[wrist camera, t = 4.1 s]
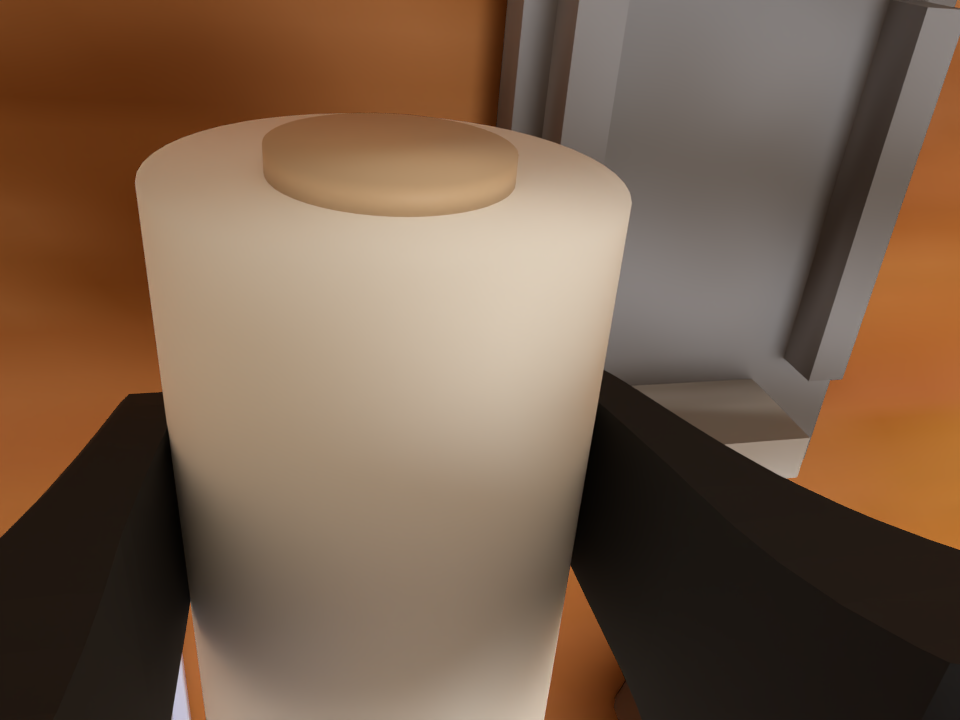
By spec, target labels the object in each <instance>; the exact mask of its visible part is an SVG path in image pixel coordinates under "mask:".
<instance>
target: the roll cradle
mask: <svg viewBox="0 0 960 720" xmlns="http://www.w3.org/2000/svg"><path fill="white" fill-rule="evenodd" d="M956 1H957V0H508V2H507V13H506V24H505V35H504V46H503V57H502V68H501V79H500V90H499V101H498V112H497V123H496V127H498V128H502V129H507V130H512V131H516V132H520V133H524V134H527V135H531V136H535V137H538V138H542V139H545V140H548V141H551V142H554V143H557V144H560V145H562V146H565V147H568V148H571V149H573V150H575V151H578V152H580V153H582V154H584V155H586V156H589V157H590V158H592V159H594V160H596V161H597V162H599V163H601V164H603V165H604V166H606V167H607V168H608V169H610V170H611V171H612V172H614V173H615V174H616V175H617V176H618V177H619V178H620V179H621V180H622V181H623V182H624V183H625V185H626V187H627V188H628V190H629V192H630V195H631V201H632V205H631V211H630V217H629V223H628V229H627V235H626V240H625V246H624V252H623V258H622V264H621V270H620V276H619V282H618V288H617V293H616V299H615V305H614V311H613V317H612V323H611V329H610V335H609V340H608V346H607V352H606V358H605V364H604V370H605V371H607V372H609V373H611V374H612V375H614V376H616V377H618V378H619V379H621V380H623V381H624V382H626V383H627V384H629V385H631V386H632V387H634V388H635V389H637V390H639V391H640V392H642V393H643V394H645V395H646V396H648V397H649V398H651V399H653V400H654V401H656V402H657V403H659V404H660V405H662V406H663V407H665V408H667V409H668V410H670V411H671V412H673V413H674V414H676V415H677V416H679V417H681V418H682V419H684V420H685V421H687V422H688V423H690V424H692V425H693V426H695V427H696V428H698V429H700V430H701V431H703V432H705V433H706V434H708V435H709V436H711V437H713V438H714V439H716V440H718V441H719V442H721V443H723V444H724V445H726V446H728V447H730V448H731V449H733V450H735V451H736V452H738V453H740V454H742V455H743V456H745V457H747V458H749V459H751V460H753V461H754V462H756V463H758V464H760V465H762V466H763V467H765V468H767V469H769V470H771V471H772V472H774V473H776V474H778V475H780V476H782V477H784V478H794V477H797V476H798V473H799V470H800V467H801V464H802V461H803V459H804V457H805V454H806V451H807V448H808V445H809V442H810V439H811V436H812V433H813V430H814V427H815V424H816V421H817V418H818V415H819V412H820V409H821V406H822V403H823V400H824V397H825V394H826V391H827V388H828V385H829V382H830V380H839V379H842V378H843V375H844V372H845V370H846V367H847V364H848V361H849V358H850V355H851V352H852V349H853V346H854V343H855V340H856V337H857V334H858V331H859V329H860V326H861V323H862V320H863V317H864V314H865V311H866V308H867V305H868V302H869V299H870V296H871V293H872V290H873V287H874V285H875V282H876V279H877V276H878V273H879V270H880V267H881V264H882V261H883V258H884V255H885V252H886V249H887V246H888V244H889V241H890V238H891V235H892V232H893V229H894V226H895V223H896V220H897V217H898V214H899V211H900V208H901V205H902V203H903V200H904V197H905V194H906V191H907V188H908V185H909V182H910V179H911V176H912V173H913V170H914V167H915V164H916V162H917V159H918V156H919V153H920V150H921V147H922V144H923V141H924V138H925V135H926V132H927V129H928V126H929V123H930V120H931V118H932V115H933V112H934V109H935V106H936V103H937V100H938V97H939V94H940V91H941V88H942V85H943V82H944V79H945V77H946V74H947V71H948V68H949V65H950V62H951V59H952V56H953V53H954V50H955V47H956V44H957V41H958V38H959V36H960V8H955V4H956Z"/></svg>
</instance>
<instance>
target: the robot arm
mask: <svg viewBox="0 0 960 720" xmlns="http://www.w3.org/2000/svg"><path fill="white" fill-rule="evenodd" d="M570 565H571V567H572V569H573V571H574V573H575V576H576V578H577V580H578V582H579V584H580V586H581V588H582V590H583V592H584V594H585V596H586V599H587V601H588V603H589V605H590V607H591V609H592V611H593V613H594V615H595V617H596V619H597V621H598V623H599V625H600V627H601V629H602V632H603V634H604V636H605V638H606V640H607V642H608V644H609V646H610V648H611V650H612V652H613V654H614V656H615V658H616V660H617V662H618V665H619V667H620V669H621V671H622V673H623V675H624V677H625V680H626V682H627V684H628V687H629V689H630V691H631V694H632V696H633V698H634V701H635V703H636V705H637V708H638V711H639V714H640V716H641V719H642V720H960V550H958V549H955V548H952V547H949V546H946V545H943V544H940V543H937V542H934V541H931V540H929V539H926V538H923V537H920V536H918V535H915V534H913V533H910V532H907V531H905V530H902V529H899V528H897V527H894V526H892V525H889V524H886V523H884V522H881V521H878V520H876V519H873V518H871V517H869V516H866V515H864V514H861V513H859V512H857V511H854V510H852V509H849V508H847V507H845V506H843V505H840V504H838V503H836V502H834V501H832V500H830V499H828V498H825V497H823V496H821V495H819V494H817V493H815V492H813V491H810V490H808V489H806V488H804V487H802V486H800V485H798V484H796V483H794V482H792V481H790V480H788V479H786V478H784V477H782V476H780V475H778V474H776V473H774V472H772V471H771V470H769V469H767V468H765V467H763V466H762V465H760V464H758V463H756V462H754V461H753V460H751V459H749V458H747V457H745V456H743V455H742V454H740V453H738V452H736V451H735V450H733V449H731V448H730V447H728V446H726V445H724V444H723V443H721V442H719V441H718V440H716V439H714V438H713V437H711V436H709V435H708V434H706V433H705V432H703V431H701V430H700V429H698V428H696V427H695V426H693V425H692V424H690V423H688V422H687V421H685V420H684V419H682V418H681V417H679V416H677V415H676V414H674V413H673V412H671V411H670V410H668V409H667V408H665V407H663V406H662V405H660V404H659V403H657V402H656V401H654V400H653V399H651V398H649V397H648V396H646V395H645V394H643V393H642V392H640V391H639V390H637V389H635V388H634V387H632V386H631V385H629V384H627V383H626V382H624V381H623V380H621V379H619V378H618V377H616V376H614V375H612V374H611V373H609V372H607V371H605V370H603V376H602V382H601V388H600V393H599V399H598V405H597V411H596V417H595V423H594V429H593V435H592V440H591V446H590V452H589V458H588V464H587V470H586V476H585V482H584V488H583V493H582V499H581V505H580V511H579V517H578V523H577V529H576V535H575V541H574V546H573V552H572V558H571V564H570ZM189 606H190V592H189V585H188V577H187V570H186V562H185V554H184V547H183V539H182V532H181V524H180V517H179V509H178V502H177V494H176V487H175V479H174V471H173V464H172V456H171V449H170V441H169V434H168V426H167V421H166V414H165V406H164V398H163V392H158V393H141V394H129V395H128V396H127V397H126V398H125V399H124V400H123V401H122V402H121V403H120V404H119V405H118V406H117V408H116V409H115V410H114V411H113V413H112V414H111V415H110V416H109V418H108V419H107V420H106V422H105V423H104V424H103V425H102V427H101V428H100V429H99V430H98V432H97V433H96V434H95V435H94V437H93V438H92V439H91V440H90V441H89V443H88V444H87V445H86V446H85V447H84V449H83V450H82V451H81V452H80V453H79V455H78V456H77V457H76V458H75V459H74V460H73V462H72V463H71V464H70V465H69V466H68V467H67V468H66V469H65V471H64V472H63V473H62V474H61V475H60V476H59V477H58V478H57V480H56V481H55V482H54V483H53V484H52V485H51V486H50V488H49V489H48V490H47V491H46V492H45V493H44V494H43V495H42V496H41V497H40V498H39V500H38V501H37V502H36V503H35V504H34V505H33V506H32V507H31V508H30V509H29V510H28V511H27V512H26V513H25V514H24V515H23V516H22V517H21V518H20V519H19V520H18V521H17V522H16V523H15V524H14V525H13V526H12V527H11V528H10V529H9V530H8V531H7V532H6V533H5V534H4V535H3V536H2V537H1V538H0V720H191V715H190V707H189V700H188V692H187V685H186V677H185V669H184V662H183V654H182V650H183V644H184V638H185V632H186V625H187V619H188V613H189Z"/></svg>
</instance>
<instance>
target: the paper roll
mask: <svg viewBox="0 0 960 720" xmlns="http://www.w3.org/2000/svg"><path fill="white" fill-rule="evenodd" d="M135 187H136V195H137V202H138V210H139V218H140V225H141V233H142V240H143V248H144V255H145V263H146V270H147V278H148V285H149V293H150V300H151V308H152V316H153V323H154V331H155V338H156V346H157V353H158V361H159V368H160V376H161V383H162V391H163V398H164V406H165V414H166V421H167V426H168V434H169V441H170V449H171V456H172V464H173V471H174V479H175V487H176V494H177V502H178V509H179V517H180V524H181V532H182V539H183V547H184V554H185V562H186V570H187V577H188V585H189V592H190V602H191V610H192V617H193V625H194V632H195V640H196V647H197V655H198V662H199V670H200V677H201V685H202V692H203V700H204V708H205V715H206V720H544V717H545V711H546V705H547V699H548V693H549V688H550V682H551V676H552V670H553V664H554V658H555V652H556V646H557V641H558V635H559V629H560V623H561V617H562V611H563V605H564V599H565V593H566V588H567V582H568V576H569V570H570V564H571V558H572V552H573V546H574V541H575V535H576V529H577V523H578V517H579V511H580V505H581V499H582V493H583V488H584V482H585V476H586V470H587V464H588V458H589V452H590V446H591V440H592V435H593V429H594V423H595V417H596V411H597V405H598V399H599V393H600V388H601V382H602V376H603V370H604V364H605V358H606V352H607V346H608V340H609V335H610V329H611V323H612V317H613V311H614V305H615V299H616V293H617V288H618V282H619V276H620V270H621V264H622V258H623V252H624V246H625V240H626V235H627V229H628V223H629V217H630V211H631V205H632V201H631V195H630V192H629V190H628V188H627V187H626V185H625V183H624V182H623V181H622V180H621V179H620V178H619V177H618V176H617V175H616V174H615V173H614V172H612V171H611V170H610V169H608V168H607V167H606V166H604V165H603V164H601V163H599V162H597V161H596V160H594V159H592V158H590V157H589V156H586V155H584V154H582V153H580V152H578V151H575V150H573V149H571V148H568V147H565V146H562V145H560V144H557V143H554V142H551V141H548V140H545V139H542V138H538V137H535V136H531V135H527V134H524V133H520V132H516V131H512V130H507V129H502V128H498V127H493V126H488V125H482V124H476V123H470V122H464V121H456V120H449V119H442V118H433V117H425V116H416V115H406V114H391V113H333V114H308V115H293V116H282V117H273V118H264V119H257V120H251V121H244V122H239V123H234V124H229V125H224V126H219V127H215V128H212V129H208V130H204V131H200V132H197V133H194V134H191V135H189V136H186V137H183V138H180V139H178V140H176V141H174V142H171V143H169V144H167V145H165V146H164V147H162V148H160V149H159V150H157V151H155V152H154V153H152V154H151V155H150V156H149V157H148V158H147V159H146V160H145V161H144V162H143V163H142V164H141V166H140V168H139V169H138V171H137V173H136V179H135Z"/></svg>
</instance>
